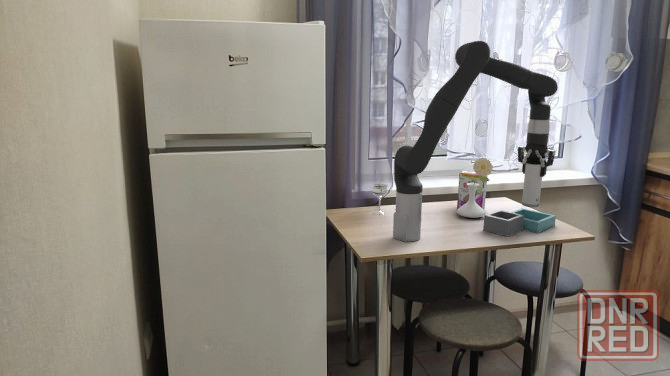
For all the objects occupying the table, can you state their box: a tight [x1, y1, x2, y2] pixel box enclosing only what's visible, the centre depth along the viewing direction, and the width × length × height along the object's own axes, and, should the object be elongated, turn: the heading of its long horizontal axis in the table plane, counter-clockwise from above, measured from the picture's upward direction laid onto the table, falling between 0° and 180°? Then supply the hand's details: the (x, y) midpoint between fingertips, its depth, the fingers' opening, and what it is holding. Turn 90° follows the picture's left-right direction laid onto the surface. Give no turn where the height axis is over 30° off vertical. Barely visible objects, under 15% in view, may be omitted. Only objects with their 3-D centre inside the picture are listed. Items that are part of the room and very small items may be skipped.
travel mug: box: [521, 154, 546, 208], centre depth 180 cm, size 6×7×20 cm
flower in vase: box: [456, 157, 494, 219], centre depth 192 cm, size 13×11×25 cm
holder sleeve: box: [482, 209, 524, 237], centre depth 177 cm, size 11×10×6 cm
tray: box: [511, 208, 557, 234], centre depth 184 cm, size 14×14×4 cm
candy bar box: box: [456, 170, 488, 211], centre depth 204 cm, size 11×5×16 cm, turn 58°
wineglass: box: [371, 183, 389, 215], centre depth 199 cm, size 7×7×12 cm
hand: (533, 174), depth 179 cm, fingers closed on travel mug, 6 cm apart
